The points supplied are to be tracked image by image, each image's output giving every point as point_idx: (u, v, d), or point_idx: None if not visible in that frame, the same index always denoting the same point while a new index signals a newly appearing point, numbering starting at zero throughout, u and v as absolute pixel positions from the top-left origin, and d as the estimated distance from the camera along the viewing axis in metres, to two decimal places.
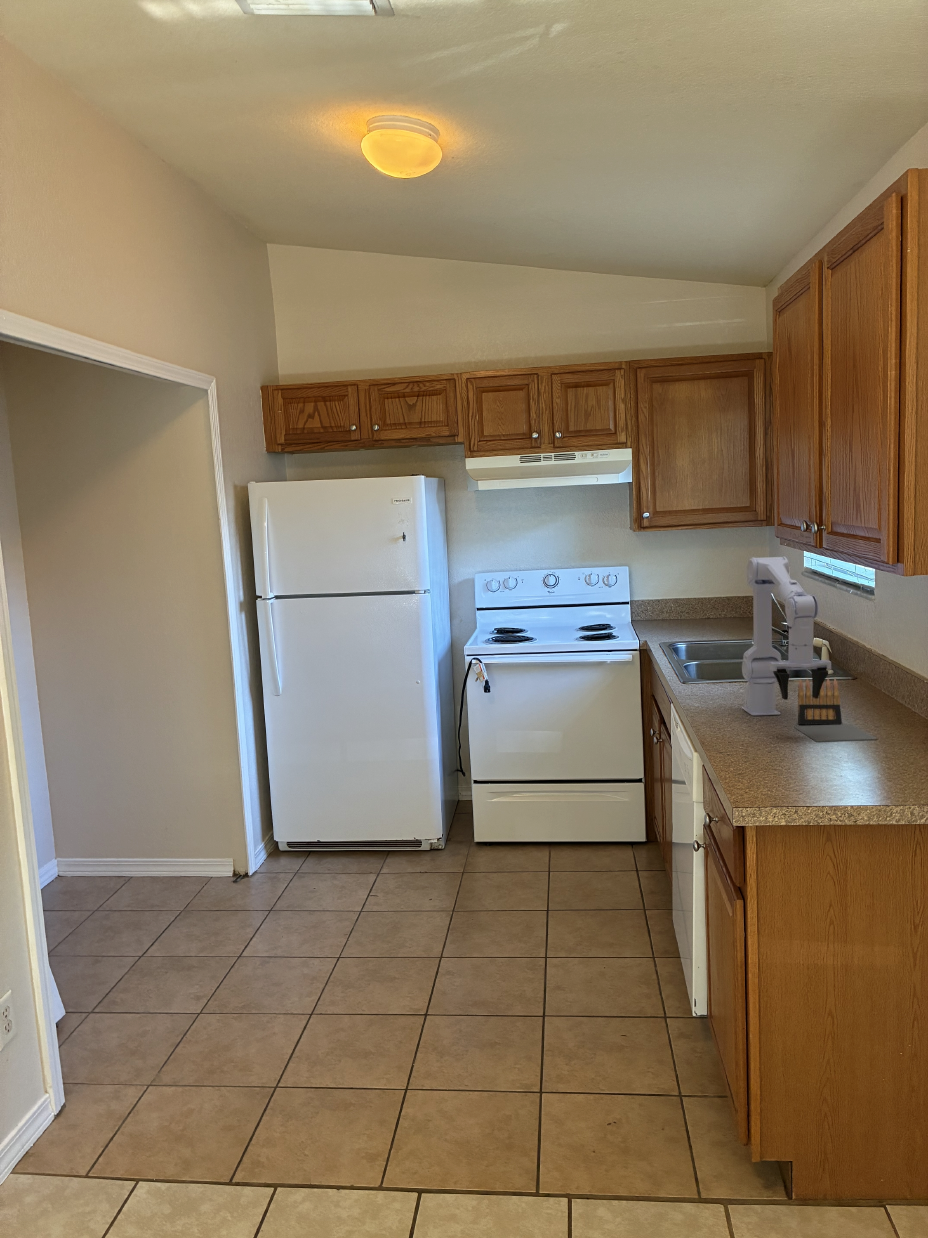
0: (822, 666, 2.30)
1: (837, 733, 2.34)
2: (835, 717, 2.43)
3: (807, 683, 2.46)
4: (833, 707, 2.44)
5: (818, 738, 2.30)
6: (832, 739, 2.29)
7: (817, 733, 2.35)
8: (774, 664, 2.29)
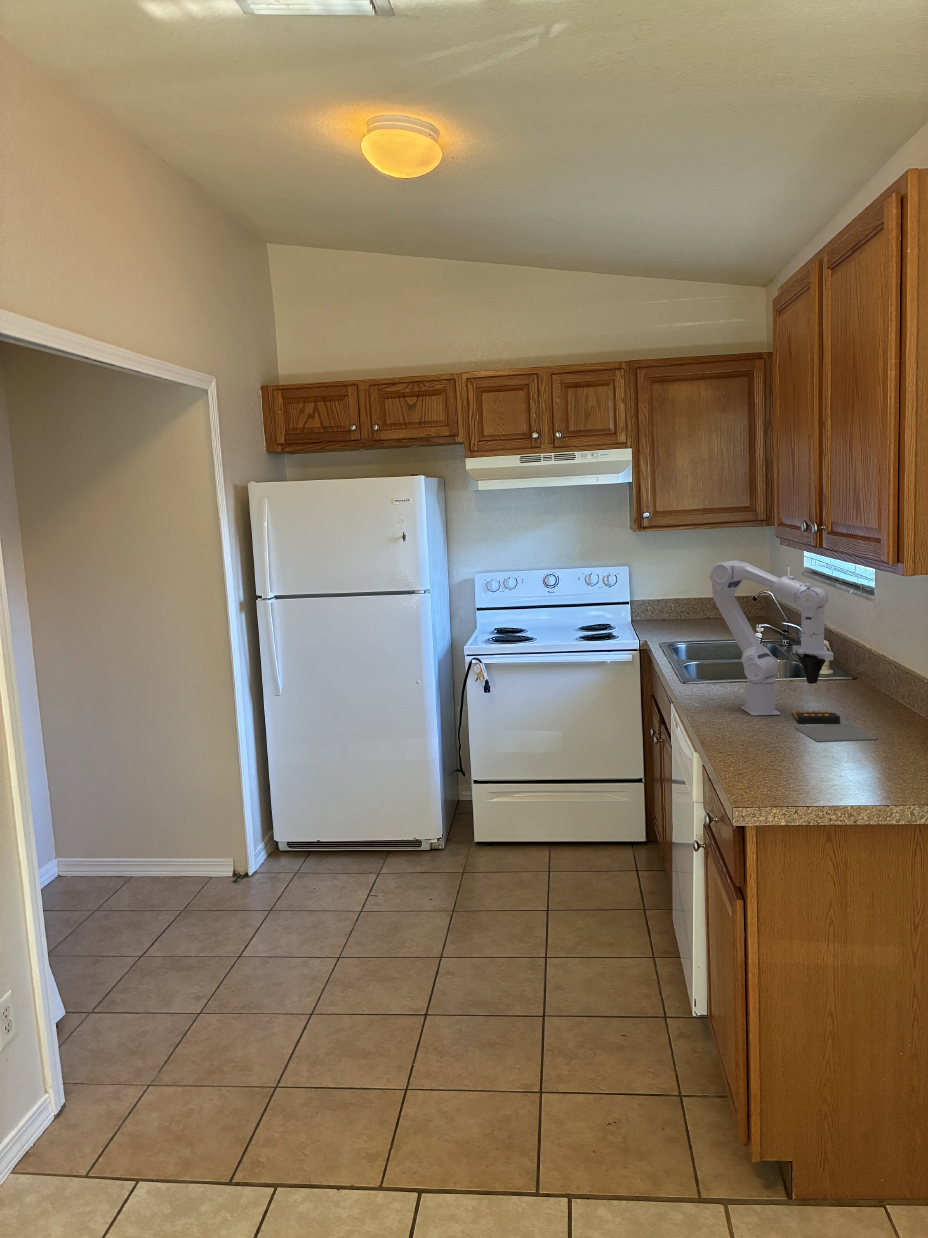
0: (824, 657, 2.43)
1: (837, 733, 2.34)
2: None
3: (799, 710, 2.56)
4: (828, 713, 2.49)
5: (818, 738, 2.30)
6: (832, 739, 2.29)
7: (817, 733, 2.35)
8: (793, 646, 2.54)
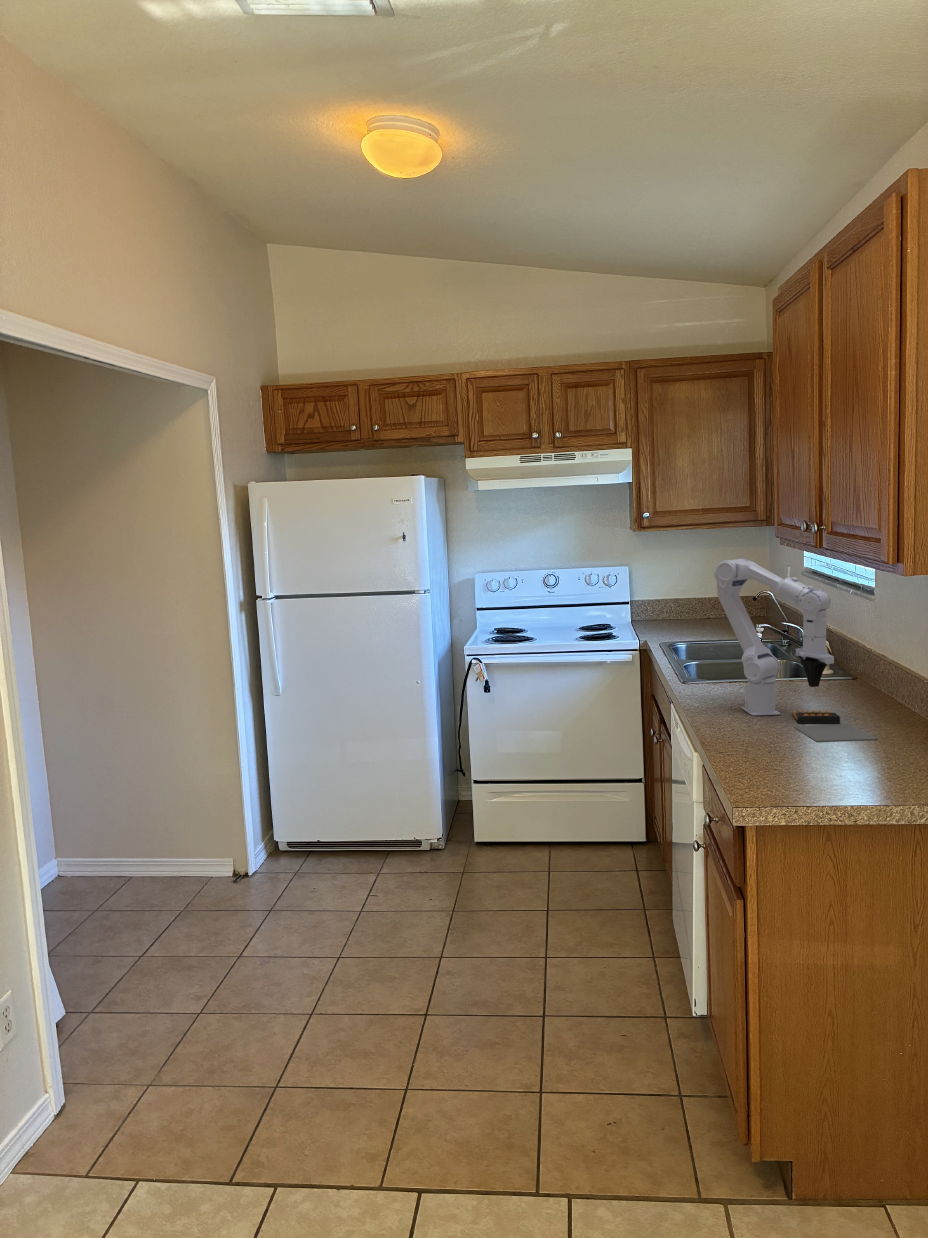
0: (825, 660, 2.41)
1: (837, 733, 2.34)
2: None
3: (799, 710, 2.56)
4: (828, 713, 2.49)
5: (818, 738, 2.30)
6: (832, 739, 2.29)
7: (817, 733, 2.35)
8: (796, 649, 2.53)
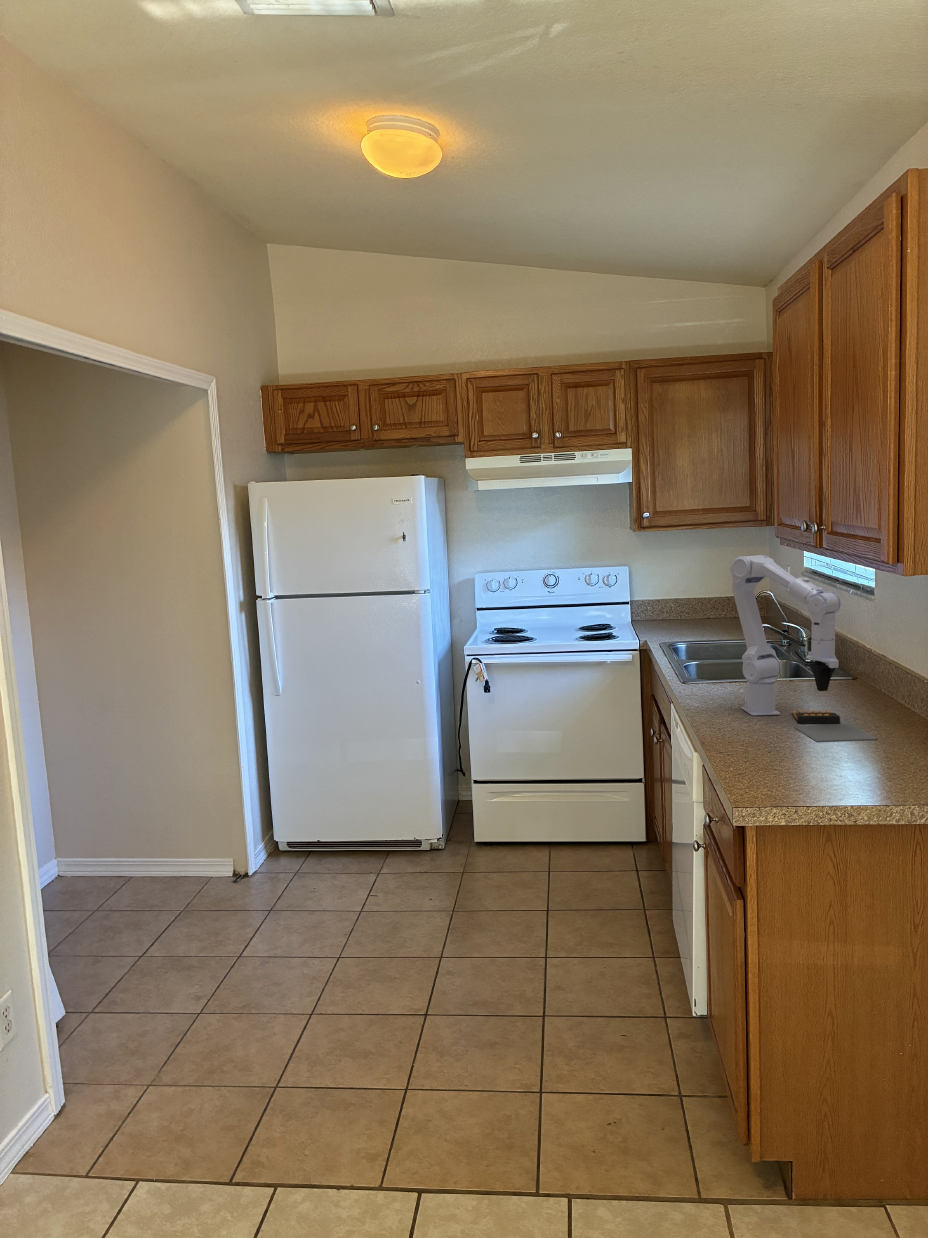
0: None
1: (837, 733, 2.34)
2: None
3: (799, 710, 2.56)
4: (828, 713, 2.49)
5: (818, 738, 2.30)
6: (832, 739, 2.29)
7: (817, 733, 2.35)
8: (808, 652, 2.48)
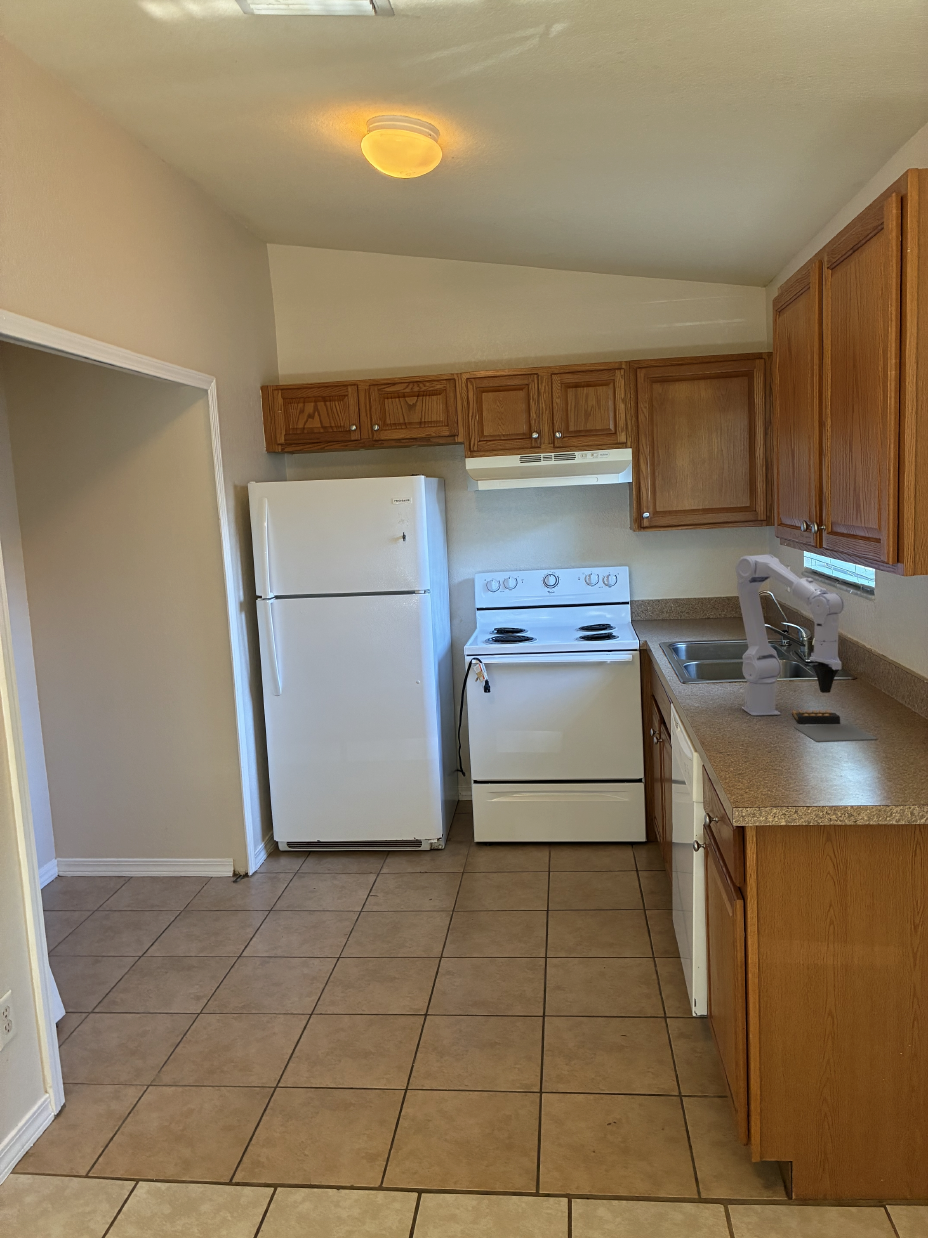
0: None
1: (837, 733, 2.34)
2: None
3: (799, 710, 2.56)
4: (828, 713, 2.49)
5: (818, 738, 2.30)
6: (832, 739, 2.29)
7: (817, 733, 2.35)
8: (811, 653, 2.46)
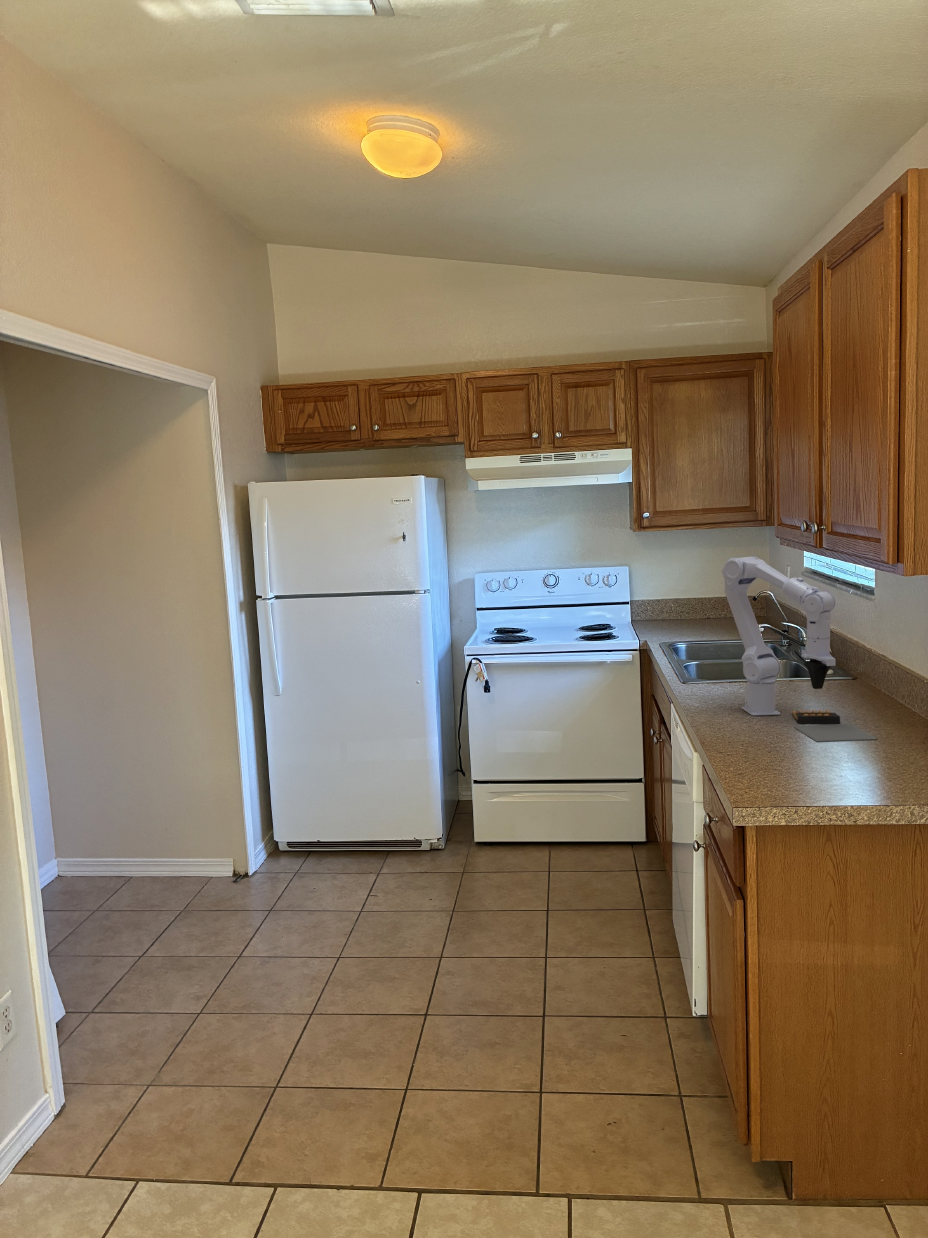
0: None
1: (837, 733, 2.34)
2: None
3: (799, 710, 2.56)
4: (828, 713, 2.49)
5: (818, 738, 2.30)
6: (832, 739, 2.29)
7: (817, 733, 2.35)
8: (802, 651, 2.51)
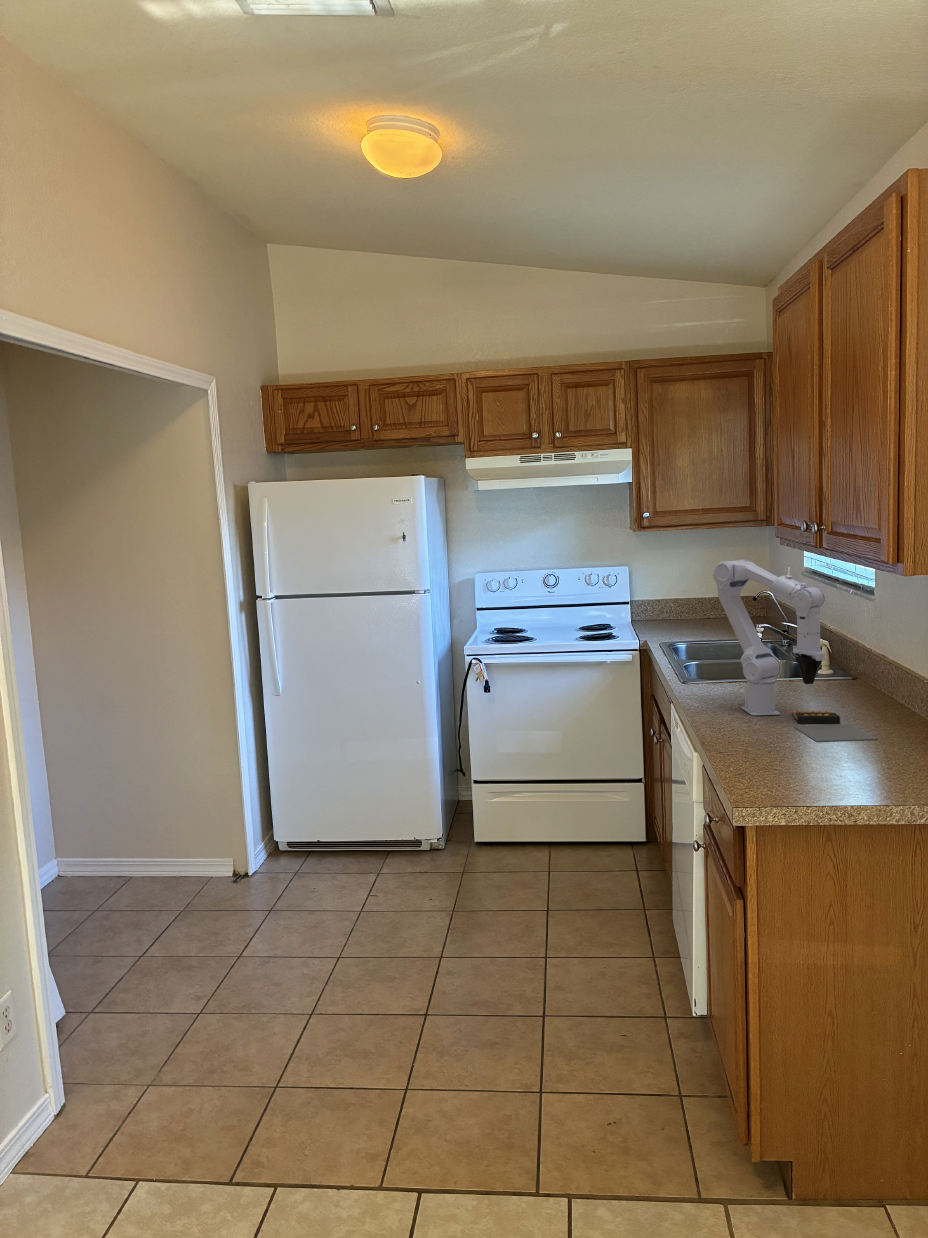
0: None
1: (837, 733, 2.34)
2: None
3: (799, 710, 2.56)
4: (828, 713, 2.49)
5: (818, 738, 2.30)
6: (832, 739, 2.29)
7: (817, 733, 2.35)
8: (793, 646, 2.52)
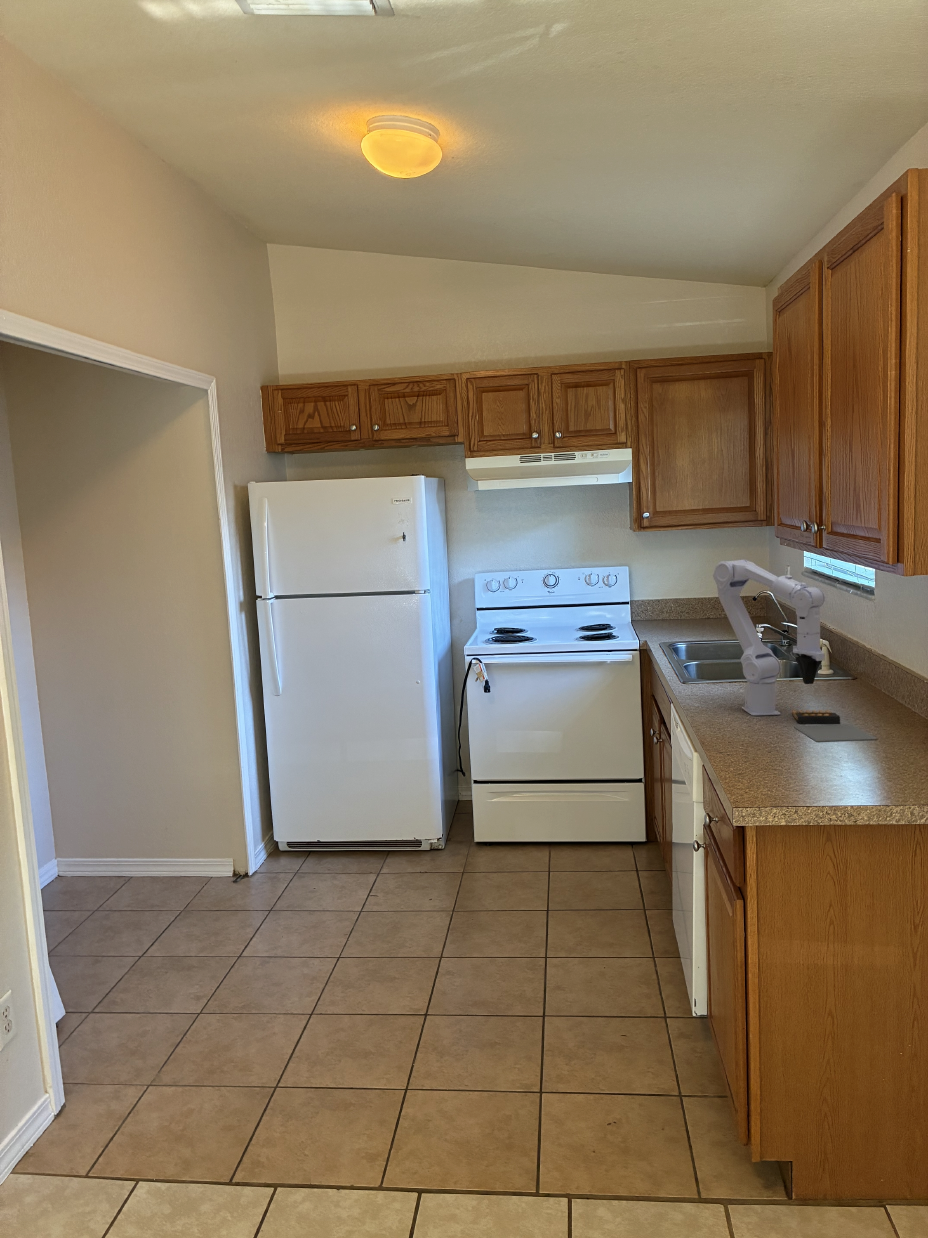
0: None
1: (837, 733, 2.34)
2: None
3: (799, 710, 2.56)
4: (828, 713, 2.49)
5: (818, 738, 2.30)
6: (832, 739, 2.29)
7: (817, 733, 2.35)
8: (793, 646, 2.52)
